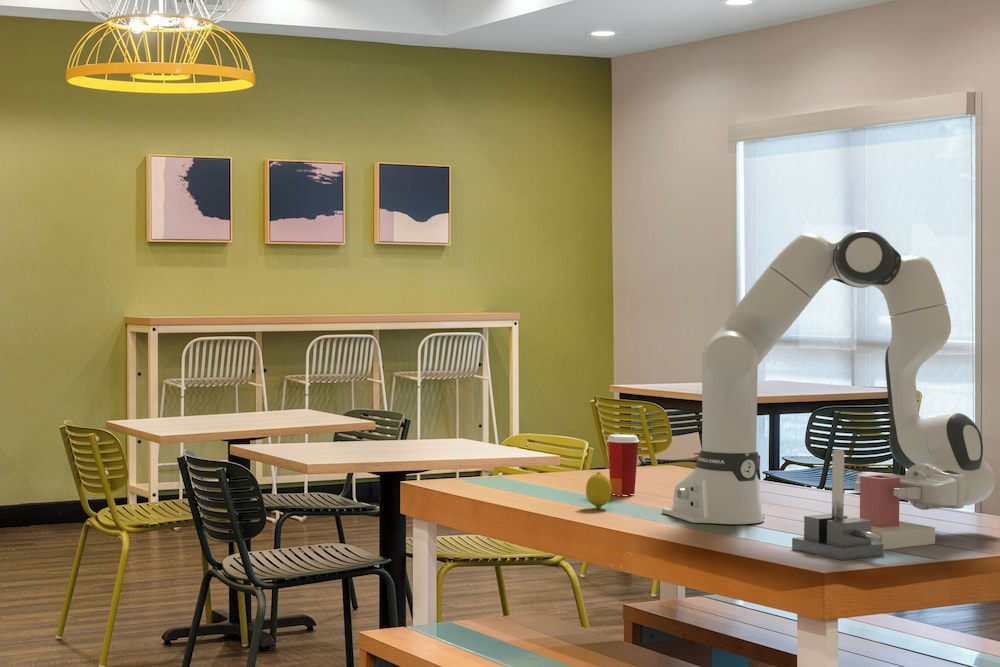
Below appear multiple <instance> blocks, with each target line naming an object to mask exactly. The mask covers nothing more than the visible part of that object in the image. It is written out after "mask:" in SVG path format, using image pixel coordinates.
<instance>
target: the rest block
mask: <svg viewBox="0 0 1000 667" xmlns="http://www.w3.org/2000/svg"><path fill="white" fill-rule="evenodd" d="M871 533H875V534H880V535H881V536H882V539H881V541H874V540H871V542H876V543H881V544H883V551H884V550H894V549H900V548H901V549H902V548H909V547H918V546H925V545H927V546H928V545H935V544H936V527H935V526H929V525H925V524H924V525H922V524H918V523H911V522H906V521H901V520H899V526H892V527H882V528H879V527H874V526H871Z"/></svg>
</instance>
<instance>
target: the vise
mask: <svg viewBox="0 0 1000 667" xmlns="http://www.w3.org/2000/svg"><path fill="white" fill-rule="evenodd" d="M831 458H832V459H831V460H832V464H831V467H832V468H831V471H832V474H831V513H825V514H822V513H821V514H815V515H812V514H811V515H804V516H803V520H804V521H803V536H800V537H799V536H798V537H792V538H791V540H792V541H791V549H792V550H794V551H800V552H803V553H808V554H813V555H817V556H822V557H825V558H830V559H835V560H838V559H840V560H839V561H847V560H846V559H849V560H855V559H854V558H858V559H863V558H862V557H866V558H873V556H874V557H881V556H884V550H883V544H881V543H876V542H871V540H874V541H881V539H882V536H881V535H880V534H875V533H871V520H865V519H860V517H848V515H844V509H845V508H844V506H845V505H844V504H845V503H844V502H845V500H844V499H845V498H844V497H845V493H844V492H845V490H844V487H845V450H841V449H833V450H832V457H831Z"/></svg>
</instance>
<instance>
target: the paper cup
mask: <svg viewBox="0 0 1000 667" xmlns="http://www.w3.org/2000/svg"><path fill="white" fill-rule="evenodd" d="M607 438H608V439H606V442H607V447H608V451H607V452H608V468H609V471H608V472H609V481H610V484H611V494H615V495H630V494H634V495H635V492H636V482H637V481H636V479H637V465H638V455H639V454H638V452H639V443H640V440H639V438H638V436H637V435H635V434H622V433H621V434H619V433H618V434H617V433H616V434H608V437H607Z"/></svg>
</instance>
